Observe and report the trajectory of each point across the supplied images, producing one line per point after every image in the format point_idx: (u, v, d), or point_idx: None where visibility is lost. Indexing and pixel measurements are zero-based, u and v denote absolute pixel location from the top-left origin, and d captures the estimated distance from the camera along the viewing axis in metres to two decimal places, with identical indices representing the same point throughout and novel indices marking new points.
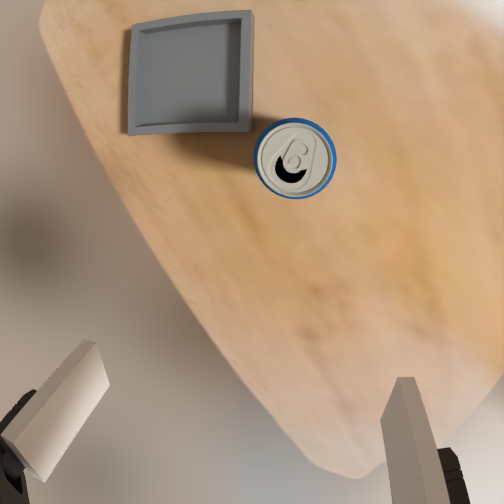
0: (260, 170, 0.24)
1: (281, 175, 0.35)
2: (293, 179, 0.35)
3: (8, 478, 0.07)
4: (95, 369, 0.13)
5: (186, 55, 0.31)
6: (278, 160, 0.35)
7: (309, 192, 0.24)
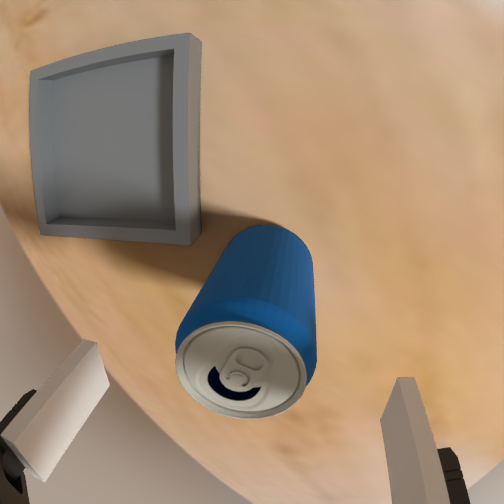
0: (183, 383, 0.14)
1: None
2: None
3: (8, 478, 0.07)
4: (95, 369, 0.13)
5: (102, 112, 0.21)
6: None
7: (265, 415, 0.14)
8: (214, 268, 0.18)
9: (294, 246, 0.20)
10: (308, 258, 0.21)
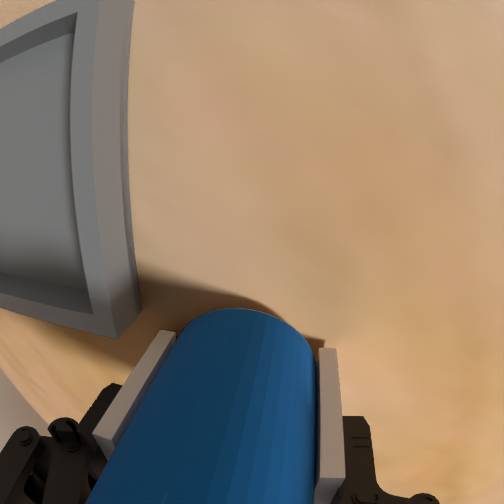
0: None
1: None
2: None
3: (89, 481, 0.08)
4: None
5: (3, 126, 0.12)
6: None
7: None
8: (139, 407, 0.09)
9: (284, 362, 0.11)
10: (309, 372, 0.11)
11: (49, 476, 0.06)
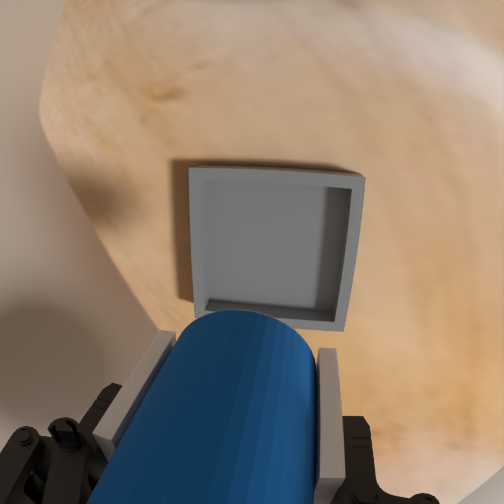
0: None
1: None
2: None
3: (89, 481, 0.08)
4: None
5: (268, 221, 0.28)
6: None
7: None
8: (139, 408, 0.09)
9: (284, 364, 0.11)
10: (309, 373, 0.11)
11: (49, 476, 0.06)
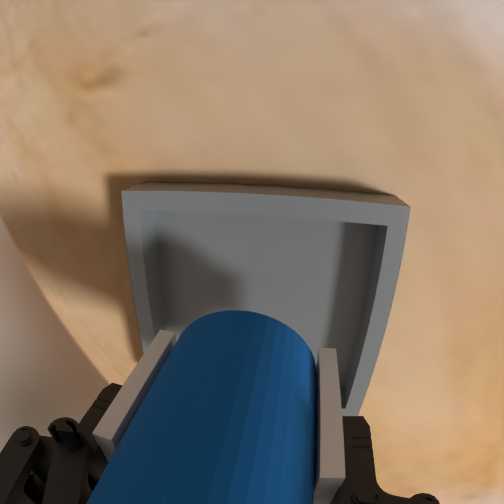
0: None
1: None
2: None
3: (89, 481, 0.08)
4: None
5: (250, 270, 0.18)
6: None
7: None
8: (139, 409, 0.09)
9: (284, 364, 0.11)
10: (309, 373, 0.11)
11: (49, 476, 0.06)
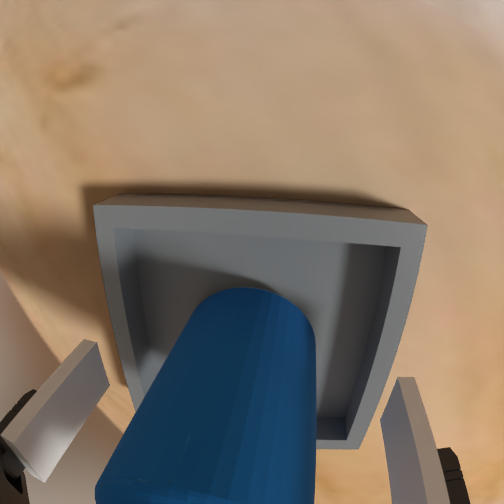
0: None
1: None
2: None
3: (8, 478, 0.07)
4: (95, 369, 0.13)
5: None
6: None
7: None
8: (160, 371, 0.11)
9: (287, 332, 0.12)
10: (309, 343, 0.13)
11: None
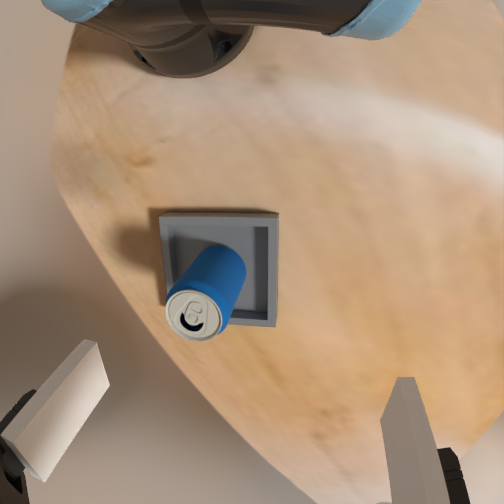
0: (169, 322, 0.30)
1: None
2: None
3: (8, 478, 0.07)
4: (95, 369, 0.13)
5: None
6: None
7: (207, 339, 0.30)
8: None
9: (229, 257, 0.37)
10: (239, 263, 0.37)
11: None
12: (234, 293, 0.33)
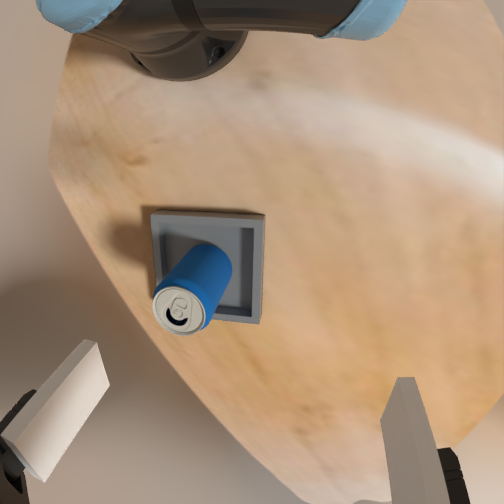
0: (155, 316, 0.32)
1: None
2: None
3: (8, 478, 0.07)
4: (95, 369, 0.13)
5: None
6: None
7: (191, 333, 0.32)
8: None
9: (216, 256, 0.38)
10: (225, 262, 0.39)
11: None
12: (218, 291, 0.35)
